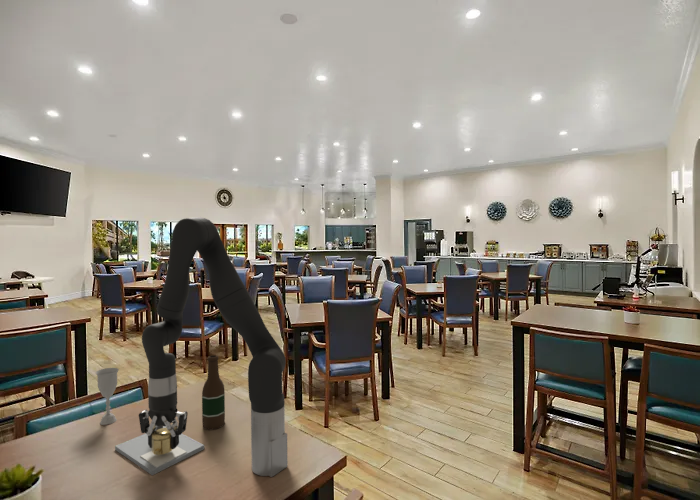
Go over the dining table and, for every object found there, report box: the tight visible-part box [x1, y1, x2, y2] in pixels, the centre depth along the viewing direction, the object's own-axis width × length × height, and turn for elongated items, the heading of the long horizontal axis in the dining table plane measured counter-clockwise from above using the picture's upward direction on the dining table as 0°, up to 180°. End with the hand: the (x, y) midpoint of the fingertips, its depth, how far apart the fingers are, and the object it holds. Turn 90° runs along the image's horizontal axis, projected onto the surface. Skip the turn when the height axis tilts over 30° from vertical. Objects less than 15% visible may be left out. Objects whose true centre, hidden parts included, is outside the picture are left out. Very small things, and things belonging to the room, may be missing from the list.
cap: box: [152, 428, 173, 455], centre depth 110 cm, size 7×6×5 cm
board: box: [114, 426, 205, 476], centre depth 116 cm, size 22×16×9 cm
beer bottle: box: [201, 354, 226, 431], centre depth 131 cm, size 8×8×24 cm
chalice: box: [95, 367, 119, 426], centre depth 134 cm, size 7×7×18 cm
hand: (163, 446), depth 111 cm, fingers open, 6 cm apart
